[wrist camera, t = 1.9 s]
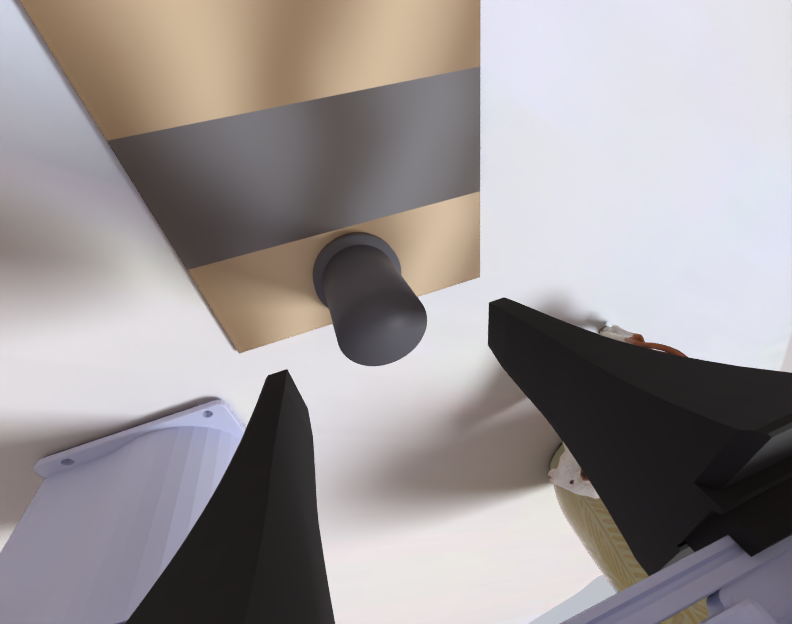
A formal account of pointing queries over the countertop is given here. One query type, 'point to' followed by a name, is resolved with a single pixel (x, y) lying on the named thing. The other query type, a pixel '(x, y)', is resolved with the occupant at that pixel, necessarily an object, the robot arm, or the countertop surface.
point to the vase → (611, 545)
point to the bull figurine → (568, 468)
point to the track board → (286, 136)
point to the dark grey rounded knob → (368, 299)
